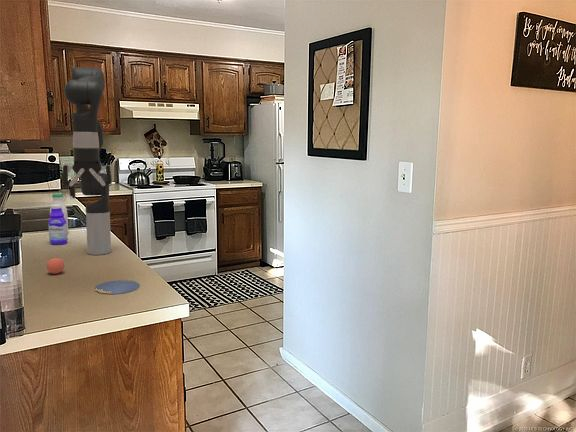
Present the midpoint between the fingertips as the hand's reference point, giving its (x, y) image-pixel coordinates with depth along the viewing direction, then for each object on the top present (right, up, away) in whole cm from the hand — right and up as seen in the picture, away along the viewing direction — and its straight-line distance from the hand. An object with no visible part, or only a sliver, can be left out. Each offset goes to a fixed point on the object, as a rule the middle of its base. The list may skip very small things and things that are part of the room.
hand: (88, 197), depth 152 cm
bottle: (-38, -18, +60) cm, 74 cm away
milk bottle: (-47, -15, +78) cm, 92 cm away
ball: (-19, -24, +16) cm, 34 cm away
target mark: (+8, -29, +4) cm, 31 cm away
